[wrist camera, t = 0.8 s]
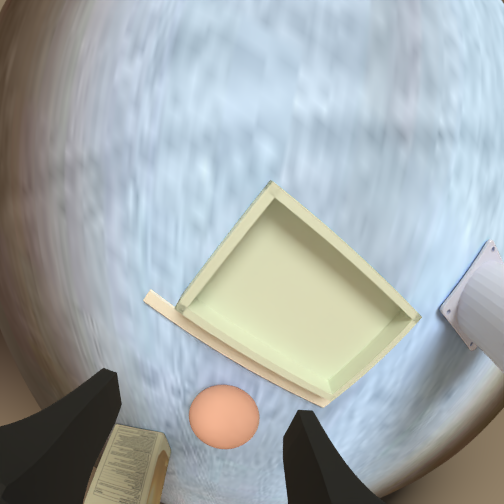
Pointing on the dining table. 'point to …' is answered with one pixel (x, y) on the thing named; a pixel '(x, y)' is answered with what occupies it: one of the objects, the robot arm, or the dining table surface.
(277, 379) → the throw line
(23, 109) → the dining table surface
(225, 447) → the ball
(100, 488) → the skincare box
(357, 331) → the tray
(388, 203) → the dining table surface
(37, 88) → the dining table surface
